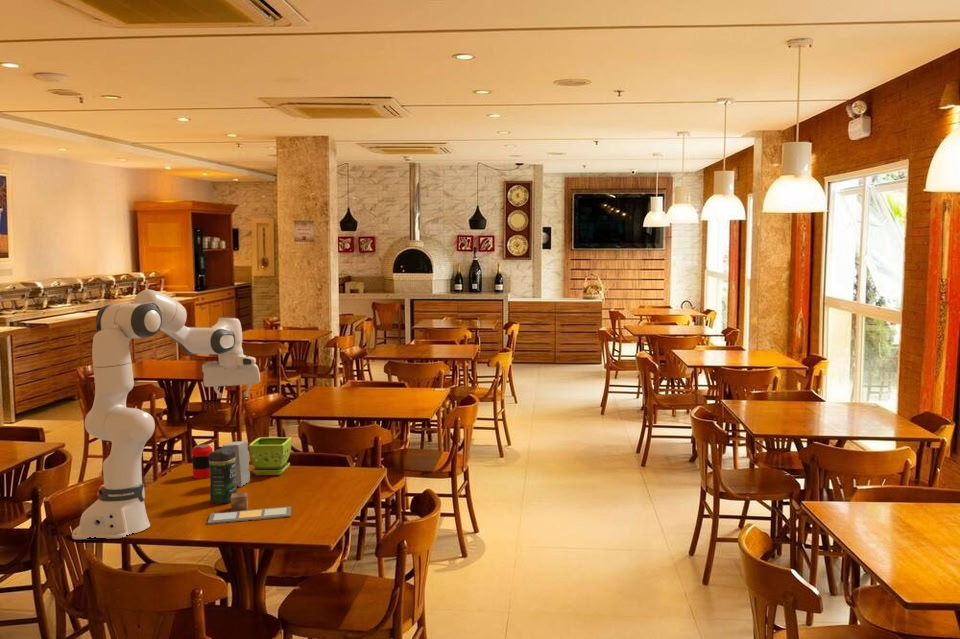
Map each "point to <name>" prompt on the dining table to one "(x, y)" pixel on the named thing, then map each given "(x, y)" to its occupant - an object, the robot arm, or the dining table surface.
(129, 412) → the robot arm
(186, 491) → the dining table surface
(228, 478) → the coffee jar
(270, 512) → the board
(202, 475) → the soda can
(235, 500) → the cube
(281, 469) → the flower pot
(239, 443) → the skincare box
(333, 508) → the dining table surface
